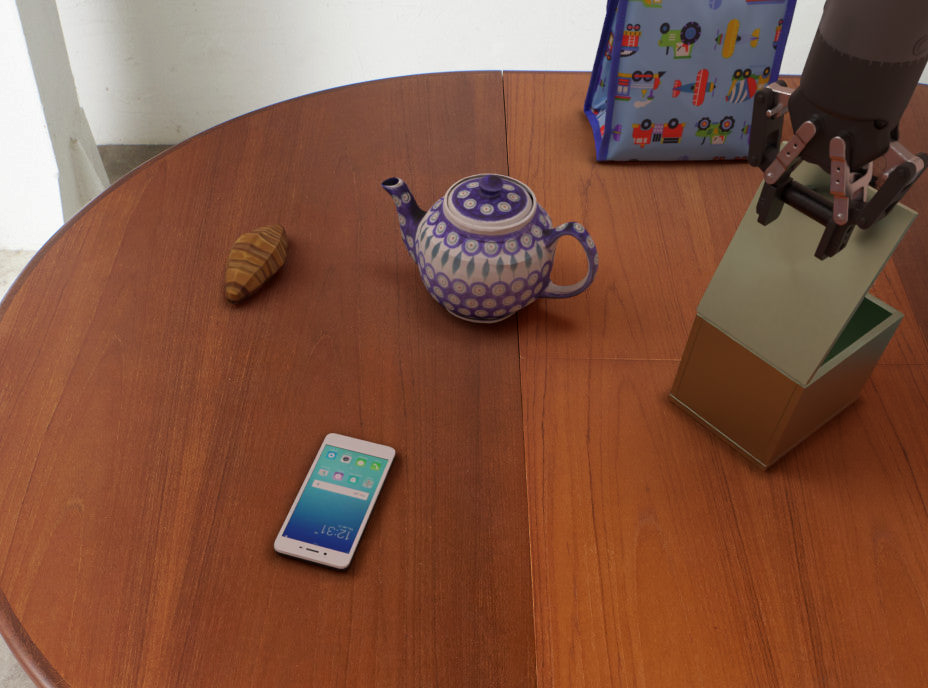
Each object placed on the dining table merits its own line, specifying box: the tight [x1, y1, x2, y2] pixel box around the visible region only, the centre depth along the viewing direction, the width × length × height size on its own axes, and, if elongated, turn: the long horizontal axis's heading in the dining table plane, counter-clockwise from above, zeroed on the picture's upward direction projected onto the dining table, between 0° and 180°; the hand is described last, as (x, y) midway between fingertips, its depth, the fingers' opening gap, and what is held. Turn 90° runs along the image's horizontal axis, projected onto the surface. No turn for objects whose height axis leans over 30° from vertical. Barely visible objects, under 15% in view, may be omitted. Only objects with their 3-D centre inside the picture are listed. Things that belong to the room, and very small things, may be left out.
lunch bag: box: [583, 0, 798, 162], centre depth 116 cm, size 22×14×29 cm, turn 93°
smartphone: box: [273, 432, 396, 572], centre depth 89 cm, size 7×1×15 cm
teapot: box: [380, 173, 600, 324], centre depth 102 cm, size 25×15×15 cm, turn 63°
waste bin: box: [667, 292, 905, 472], centre depth 94 cm, size 16×13×12 cm
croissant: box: [223, 224, 289, 305], centre depth 108 cm, size 14×7×5 cm, turn 161°
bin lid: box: [695, 140, 919, 385], centre depth 80 cm, size 16×13×5 cm
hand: (795, 236), depth 76 cm, fingers closed on bin lid, 5 cm apart
